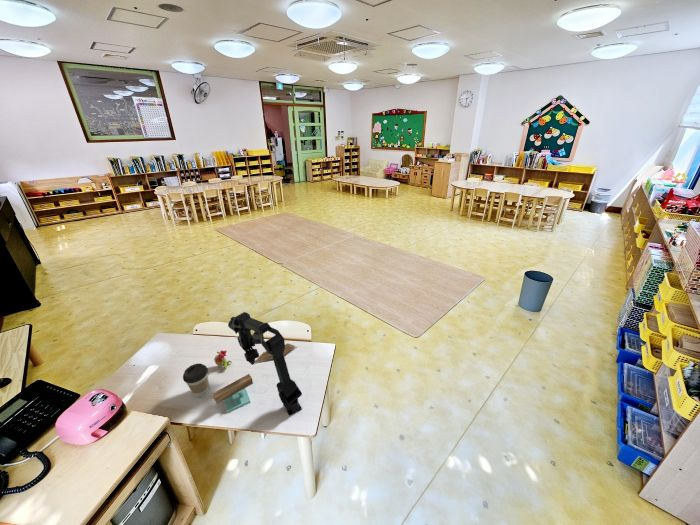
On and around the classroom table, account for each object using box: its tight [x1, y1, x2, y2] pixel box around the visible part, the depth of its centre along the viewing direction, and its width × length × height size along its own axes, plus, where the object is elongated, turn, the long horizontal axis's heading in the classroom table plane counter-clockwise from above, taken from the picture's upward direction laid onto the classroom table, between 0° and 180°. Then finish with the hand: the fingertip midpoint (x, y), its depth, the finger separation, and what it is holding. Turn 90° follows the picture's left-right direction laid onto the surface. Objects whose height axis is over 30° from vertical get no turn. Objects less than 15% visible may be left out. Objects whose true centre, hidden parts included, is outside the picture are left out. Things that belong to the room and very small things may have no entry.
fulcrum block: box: [223, 387, 251, 414], centre depth 146 cm, size 11×11×6 cm
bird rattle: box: [213, 349, 232, 370], centre depth 165 cm, size 6×11×9 cm
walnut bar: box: [212, 373, 254, 405], centre depth 143 cm, size 4×18×4 cm, turn 130°
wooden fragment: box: [254, 343, 297, 364], centre depth 175 cm, size 26×11×1 cm, turn 116°
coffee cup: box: [182, 363, 210, 398], centre depth 149 cm, size 11×11×15 cm
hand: (250, 358), depth 155 cm, fingers open, 9 cm apart
